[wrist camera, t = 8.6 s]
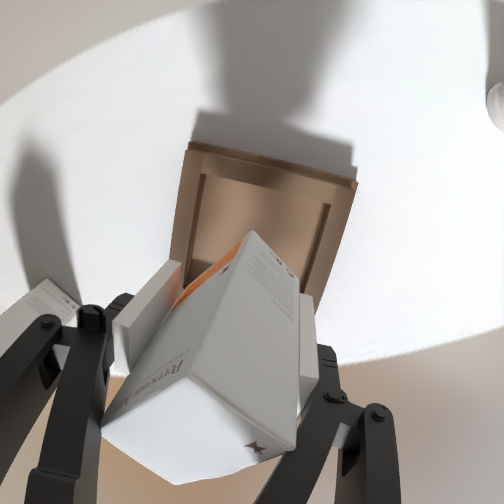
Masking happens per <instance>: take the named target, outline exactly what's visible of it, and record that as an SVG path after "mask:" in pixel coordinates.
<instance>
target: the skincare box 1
mask: <svg viewBox="0 0 504 504" xmlns="http://www.w3.org/2000/svg"><path fill="white" fill-rule="evenodd" d="M79 307H81V306H80V305H78V304H77V303H76V302H75V301H74V300H72V299H71V298H70V297H69V296H68V295H67V294H66V293H64V292H63V291H62V290H61V289H60V288H58V287H57V286H56V285H55V284H54V283H53V282H52V281H50V280H49V279H48V278H46V279H45V280H44V281H42V282H41V283H40V284H38V285H37V286H36V287H35V288H33V289H32V290H31V291H30V292H28V293H27V294H26V295H25V296H23V297H22V298H21V299H20V300H18V301H17V302H16V303H15V304H14V305H12V306H11V307H10V308H9V309H8V310H6V311H5V312H4V313H3V314H2V315H0V357H1V356H2V355H3V354H4V353H5V352H6V350H7V349H8V348H9V347H10V346H11V345H12V344H13V343H14V341H15V340H16V339H17V338H18V337H19V336H20V335H21V334H22V333H23V332H24V331H25V330H26V328H27V327H28V326H29V325H30V324H31V323H32V322H33V321H34V320H35V319H36V318H37V317H39V316H40V315H43V314H53V315H56V316H58V317H59V318H60V319H61V323H62V325H63V326H70V327H76V326H77V319H76V310H77V309H78V308H79Z"/></svg>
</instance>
